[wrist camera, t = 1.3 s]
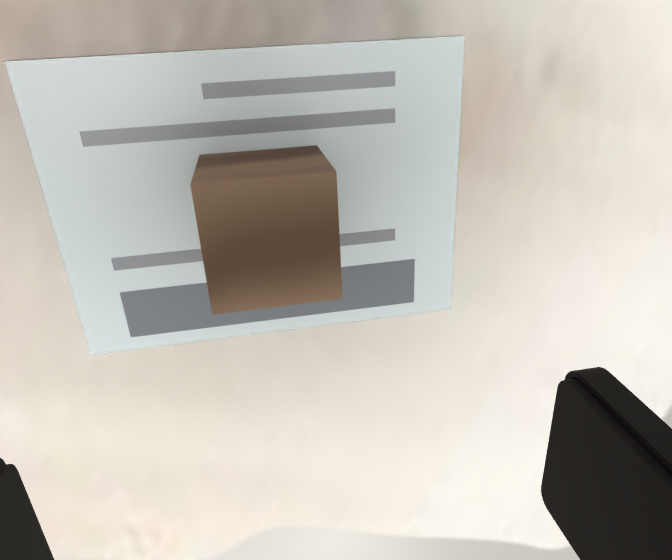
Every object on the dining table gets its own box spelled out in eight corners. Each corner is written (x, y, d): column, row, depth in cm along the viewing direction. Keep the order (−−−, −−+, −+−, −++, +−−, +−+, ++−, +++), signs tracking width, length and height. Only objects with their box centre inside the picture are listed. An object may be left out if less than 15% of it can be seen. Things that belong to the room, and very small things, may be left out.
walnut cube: (199, 154, 22) (190, 184, 18) (316, 145, 23) (336, 171, 18) (216, 263, 24) (212, 314, 20) (323, 252, 25) (342, 299, 21)
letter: (6, 61, 20) (4, 61, 20) (463, 35, 22) (464, 35, 22) (91, 352, 25) (90, 355, 25) (449, 307, 28) (450, 309, 28)
